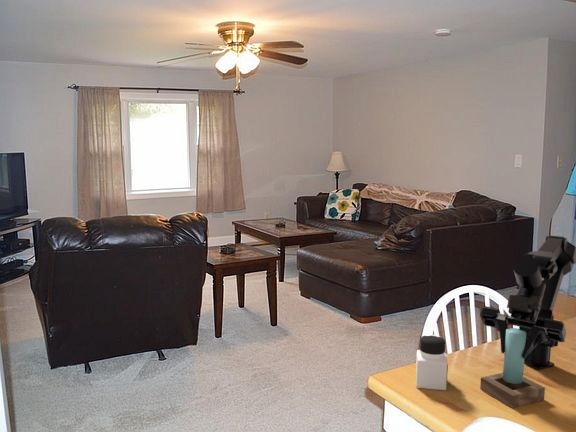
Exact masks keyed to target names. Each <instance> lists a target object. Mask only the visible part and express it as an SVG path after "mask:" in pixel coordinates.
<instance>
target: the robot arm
mask: <svg viewBox="0 0 576 432" xmlns="http://www.w3.org/2000/svg"><path fill="white" fill-rule="evenodd" d="M574 265H576V246H575V245H574V244H572V243H571V242H569V241H568V238H567V237H564V236H562V235H561V236H560V235H551V234H550V235H547V236H546V237H545V240H544V242H543V244H541V246H540V247H539V248H538V250H537V251H535V250H534V251H529V252H528V253H525V254H524V256H523V257H519V258H517V260H515V262H513V265H512V269H513V272H514V276H515V279H516V283H517V285H518V286H519V287H518V290H517V293H516V294H509V295H508V300H507V305H506V308H507V309H508V314H510V315H507V314H505V313H501V310H500V309H499V308H497V307H491V306H484V307H482V308H481V309H480V312H479V316H480V319H481V321H482V323H483V325H484V326H486V327H491V328H495V329H496V331H498V332H499V338H500V339H499V340H500V352H501V353H502V354H504V352H505V337H506V329H508V328H509V325H511V326H514V327H518V329H521V330H524V331H525V332H526V343H525V348H524V351H523V355H522V357H523V358H524V365H525V364H526V365H528V366H530V367H532V368H534V369H536V370H540V369H545V368H550V367H554V366H555V363H554V362H552V361H551V351H552V349H553V348H554V347H558V346H559V343H564V342H565V340H566V336H567V331H566V326H565V322H563V321H562V320H557V319H555V316H554V314H553V310H554V308H555V304H556V301H557V298H558V296H559V291H560V288H561V284H562V281H563V280H564V279H563V278H564V276H566V275H567V274H569V273H570V272H572V270H573V268H574Z"/></svg>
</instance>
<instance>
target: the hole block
mask: <svg viewBox="0 0 576 432" xmlns="http://www.w3.org/2000/svg"><path fill="white" fill-rule="evenodd" d="M512 388H513V389H512ZM479 389H480V390H481V391H483V392H484V393H486V394H488V395H490V396H491V397H493V398H494V399H496V400H497V401H499V402H501V403H503V404H505V405H506V406H508V407H509V408H512V409H513V408H518V407H522V406H525V405H529V404H533V403H536V402H539V401H541V402H542V401H544V400H545V393H546V387H544V385H541V384H539V383H537V382H535V381H533V380H531V379H529V378H527V377H526V376H523V382H522V383H520V384H513V383H509V382H506V381H505V380H504V379H503V372H500V373H495V374H491V375H487V376H482V377H480V387H479Z"/></svg>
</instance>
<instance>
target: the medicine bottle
mask: <svg viewBox="0 0 576 432" xmlns="http://www.w3.org/2000/svg"><path fill="white" fill-rule="evenodd" d="M415 358H416V359H415V361H416V363H415V382H416V383H415V385H416V388H418V389H425V390H427V389H428V390H436V391H437V390H438V391H447V389H448V388H447V387H448V373H449V371H448V369H449V368H448V367H449V363H448V357H447V353H446V340H445V339H444V338H443V337H442V336H439V335H437V334H425V335H421V337H420V338H419V349H417V350H416V357H415Z"/></svg>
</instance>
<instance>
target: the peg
mask: <svg viewBox="0 0 576 432" xmlns="http://www.w3.org/2000/svg"><path fill="white" fill-rule="evenodd" d="M525 343H526V332H525V331H524V330H521V329H519V328H516V327H508V329H506V337H505V352H504V353H503V356H504V357H503V370H502V371H503V372H502V373H503V379H504V380H505V381H506V382H509V383H513V384H520V383H522V382H523V377H524V369H525V368H524V367H525V363H524V358H523V357H522V355H523V351H524V348H525Z"/></svg>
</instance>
